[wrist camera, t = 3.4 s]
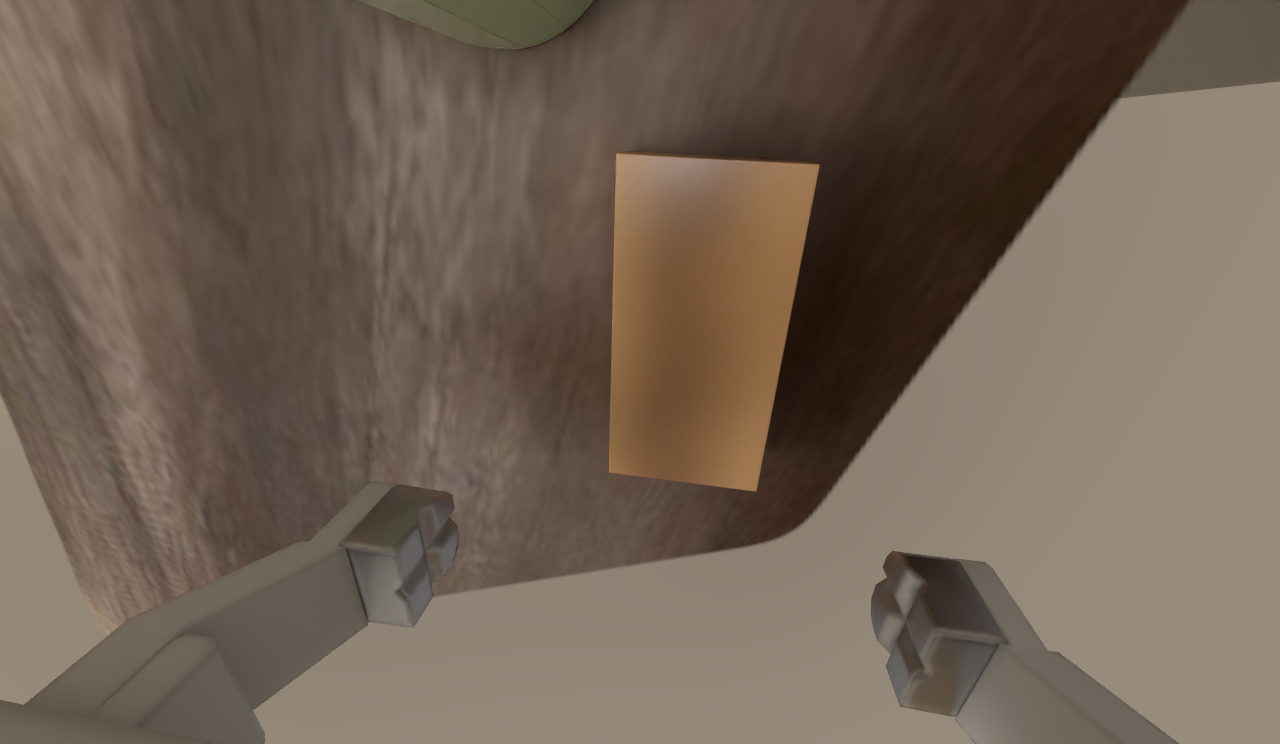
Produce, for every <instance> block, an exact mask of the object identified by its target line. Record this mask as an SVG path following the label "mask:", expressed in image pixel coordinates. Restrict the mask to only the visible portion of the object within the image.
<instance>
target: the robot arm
mask: <svg viewBox="0 0 1280 744" xmlns="http://www.w3.org/2000/svg"><path fill="white" fill-rule="evenodd" d="M454 509H455V508H454V503H453V498H452V495H451V494H449V493H447V492H443V491H437V490H431V489H424V488H418V487H412V486H405V485H395V484H389V483H383V482H377V481H375V482H372V483H369V484H367V485H366V486H365V487H364V488H363V489H362V490H361V491H360V492H359V493H358V494H357V495H356V496H355V497H354V498H353V499H352V500H351V501H350V502H349V503H348V504H347V505H346V506H345V507H344V508H343V509H341V510H340V511H339V512H338V513H337V514H336V515H335V516H334V517H333V518H332V519H331V520H330V521H329V522H328V523H327V524H326V525H325V526H324V527H323V528H322V529H321V530H320V531H319V532H318V533H317V534H316V535H315V536H314V537H313V538H312V539H311V540H310V541H309V542H307V541H299V542H297V543H295V544H293V545H290V546H288V547H286V548H284V549H282V550H279V551H277V552H275V553H273V554H271V555H268V556H266V557H264V558H262V559H260V560H257V561H255V562H253V563H251V564H249V565H246V566H244V567H242V568H240V569H238V570H235V571H233V572H231V573H229V574H227V575H224V576H222V577H220V578H218V579H216V580H213V581H211V582H209V583H207V584H205V585H203V586H200V587H198V588H196V589H194V590H192V591H189V592H187V593H185V594H183V595H181V596H178V597H176V598H174V599H172V600H170V601H167V602H165V603H163V604H161V605H159V606H156V607H154V608H152V609H150V610H148V611H145V612H143V613H141V614H139V615H137V616H134V617H132V618H130V619H128V620H127V621H126V622H124V623H123V624H122V625H121V626H119V627H118V628H117V629H116V630H115V631H113V632H112V633H111V634H110V635H108V636H107V637H106V638H105V639H104V640H102V641H101V642H100V643H99V644H97V645H96V646H95V647H94V648H93V649H91V650H90V651H89V652H88V653H87V654H85V655H84V656H83V657H82V658H80V659H79V660H78V661H77V662H76V663H74V664H73V665H72V666H71V667H69V668H68V669H67V670H66V671H65V672H63V673H62V674H61V675H60V676H58V677H57V678H56V679H55V680H54V681H52V682H51V683H50V684H49V685H48V686H46V687H45V688H44V689H43V690H41V691H40V692H39V693H38V694H36V695H35V696H34V697H33V698H32V699H30V700H29V701H28V702H27V703H26V704H24V705H22V704H17V703H12V702H7V701H2V700H0V744H264V743H265V738H264V731H263V729H262V727H261V725H260V723H259V721H258V719H257V717H256V715H255V713H254V712H253V710H254V709H255V708H257V707H258V706H259V705H261V704H262V703H263V702H265V701H266V700H267V699H269V698H270V697H272V696H273V695H274V694H276V693H277V692H278V691H280V690H281V689H282V688H283V687H285V686H286V685H288V684H289V683H290V682H292V681H293V680H294V679H296V678H297V677H298V676H300V675H301V674H302V673H304V672H305V671H306V670H308V669H309V668H310V667H312V666H313V665H315V664H316V663H317V662H318V661H320V660H321V659H323V658H324V657H325V656H327V655H328V654H329V653H331V652H332V651H333V650H335V649H336V648H337V647H339V646H340V645H341V644H343V643H344V642H345V641H347V640H348V639H349V638H351V637H352V636H354V635H355V634H356V633H358V632H359V631H360V630H362V629H363V628H364V627H366V626H367V625H368V622H372V623H381V624H388V625H396V626H403V627H411V628H414V626H415V625H416V623H417V622H418V620H419V618H420V617H421V615H422V613H423V612H424V610H425V608H426V607H427V605H428V604H429V602H430V600H431V599H432V597H433V592H432V584H433V583H435V582H436V581H438V580H440V579H441V578H443V577H444V576H446V574H447V572H448V571H449V569H450V567H451V565H452V564H453V561H454V558H455V555H456V552H457V549H458V538H459V534H458V527H457V525H456V524H455V523H454V522H453V521H452V520H451V518H450V517H449V516H450V515H451V513H452V512H453V510H454ZM883 568H884V571H885V573H886V576H887V578H886V579H884V580H883V581H881V582H879V583H878V584H876V586H875V589H874V592H873V595H872V600H871V616H872V623H873V628H874V631H875V634H876V637H877V640H878V642H879V643H880V644H881V645H882V646H883V647H884V648H885V649H886V650H887V651H888V652H889V653H890V654H891V656H890V658H889V660H888V663H887V665H886V667H887V670H888V673H889V676H890V679H891V682H892V685H893V688H894V691H895V694H896V696H897V700H898V702H899V705H900V707H904V708H910V709H914V710H920V711H925V712H931V713H935V714H941V715H946V716H952V717H956V722H957V723H958V724H959V725H960V726H961V728H962V729H963V730H964V731H965V732H966V733H967V735H968V736H969V737H970V738H971V739H972V741H973V742H974V743H975V744H1179V743H1177V742H1176V741H1175V740H1174V739H1172V738H1171V737H1170V736H1168V735H1167V734H1166V733H1164V732H1163V731H1162V730H1160V729H1159V728H1158V727H1156V726H1155V725H1154V724H1152V723H1151V722H1150V721H1148V720H1147V719H1146V718H1144V717H1143V716H1142V715H1140V714H1139V713H1138V712H1136V711H1135V710H1134V709H1132V708H1131V707H1130V706H1129V705H1127V704H1126V703H1125V702H1123V701H1122V700H1121V699H1119V698H1118V697H1117V696H1115V695H1114V694H1113V693H1111V692H1110V691H1109V690H1107V689H1106V688H1105V687H1103V686H1102V685H1101V684H1099V683H1098V682H1097V681H1095V680H1094V679H1093V678H1092V677H1090V676H1088V675H1087V674H1086V673H1085V672H1084V671H1082V670H1081V669H1080V668H1078V667H1077V666H1076V665H1074V664H1073V663H1071V662H1070V661H1069V660H1068V659H1066V658H1065V657H1064V656H1062V655H1061V654H1060V653H1058V652H1053V651H1048V650H1047V649H1046V647H1045V646H1044V644H1043V643H1042V641H1041V640H1040V638H1039V637H1038V635H1037V634H1036V633H1035V631H1034V629H1033V628H1032V627H1031V625H1030V624H1029V622H1028V621H1027V619H1026V618H1025V616H1024V615H1023V613H1022V612H1021V610H1020V609H1019V607H1018V606H1017V604H1016V603H1015V601H1014V600H1013V598H1012V597H1011V595H1010V594H1009V593H1008V591H1007V589H1006V588H1005V586H1004V585H1003V583H1002V582H1001V580H1000V579H999V577H998V576H997V574H996V573H995V571H994V570H993V569H992V567H990V566H989V565H987V564H986V563H985V562H979V561H970V560H962V559H954V558H953V559H950V558H943V557H935V556H927V555H919V554H910V553H903V552H895V551H892V552H891V553H890V554H889V555H888V556H887V558H886V560H885V563H884V565H883Z"/></svg>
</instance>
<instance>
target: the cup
mask: <svg viewBox="0 0 1280 744" xmlns="http://www.w3.org/2000/svg"><path fill="white" fill-rule="evenodd" d="M357 1H360V2H363V3H365V4H368V5H370V6H373V7H375V8H378V9H380V10H383V11H386V12H388V13H391V14H393V15H396V16H398V17H401V18H403V19H406V20H408V21H411V22H414V23H416V24H419V25H421V26H424V27H426V28H429V29H431V30H434V31H437V32H439V33H442V34H444V35H447V36H449V37H452V38H454V39H457V40H460V41H462V42H465V43H467V44H470V45H472V46H481V47H486V48H492V49H500V50H513V49H523V48H527V47H532V46H535V45H538V44H541V43H543V42H546V41H548V40H550V39H552V38H553V37H555V36H557V35H558V34H560V33H562V32H563V31H565V30H566V29H567V28H568V27H569V26H571V25H572V24H573V23H574V22H576V21H577V19H578V18H579V17H580V16H581V15H582V14H583V13H584V12H585V11H586V10H587V9H588V7H589V6H590V5H591V3H592V2H593V0H357Z"/></svg>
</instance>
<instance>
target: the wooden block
mask: <svg viewBox="0 0 1280 744" xmlns="http://www.w3.org/2000/svg"><path fill="white" fill-rule="evenodd" d="M819 168H820V165H819V164H816V163H812V162H808V161H802V160H784V159H766V158H748V157H730V156H712V155H694V154H676V153H658V152H640V151H628V152H619V153H616V179H615V223H614V267H613V311H612V355H611V399H610V442H609V472H610V473H616V474H624V475H632V476H640V477H648V478H655V479H663V480H671V481H679V482H687V483H694V484H702V485H710V486H718V487H726V488H733V489H741V490H749V491H757V486H758V481H759V476H760V471H761V466H762V461H763V455H764V450H765V445H766V440H767V435H768V430H769V425H770V420H771V414H772V409H773V404H774V399H775V394H776V389H777V384H778V378H779V373H780V368H781V363H782V358H783V353H784V348H785V342H786V337H787V332H788V327H789V322H790V317H791V312H792V306H793V301H794V296H795V291H796V286H797V281H798V276H799V270H800V265H801V260H802V255H803V250H804V245H805V240H806V234H807V229H808V224H809V219H810V214H811V209H812V204H813V198H814V193H815V188H816V183H817V178H818V173H819Z"/></svg>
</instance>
